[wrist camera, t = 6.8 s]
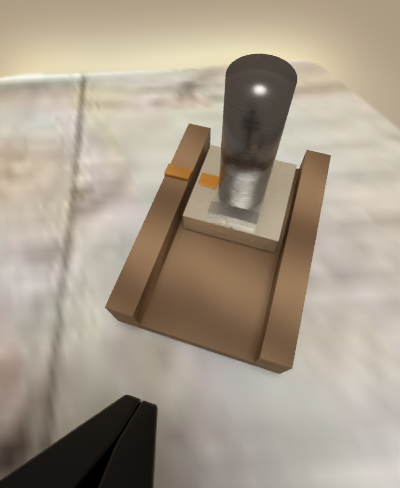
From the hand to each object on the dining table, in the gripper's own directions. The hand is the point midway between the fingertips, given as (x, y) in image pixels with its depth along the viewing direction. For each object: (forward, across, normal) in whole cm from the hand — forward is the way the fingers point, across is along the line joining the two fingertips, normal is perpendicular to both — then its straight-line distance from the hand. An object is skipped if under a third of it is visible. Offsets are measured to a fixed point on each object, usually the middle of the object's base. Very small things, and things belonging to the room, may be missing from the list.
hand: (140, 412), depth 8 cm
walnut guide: (+15, 0, 0) cm, 15 cm away
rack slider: (+16, 0, -3) cm, 17 cm away
